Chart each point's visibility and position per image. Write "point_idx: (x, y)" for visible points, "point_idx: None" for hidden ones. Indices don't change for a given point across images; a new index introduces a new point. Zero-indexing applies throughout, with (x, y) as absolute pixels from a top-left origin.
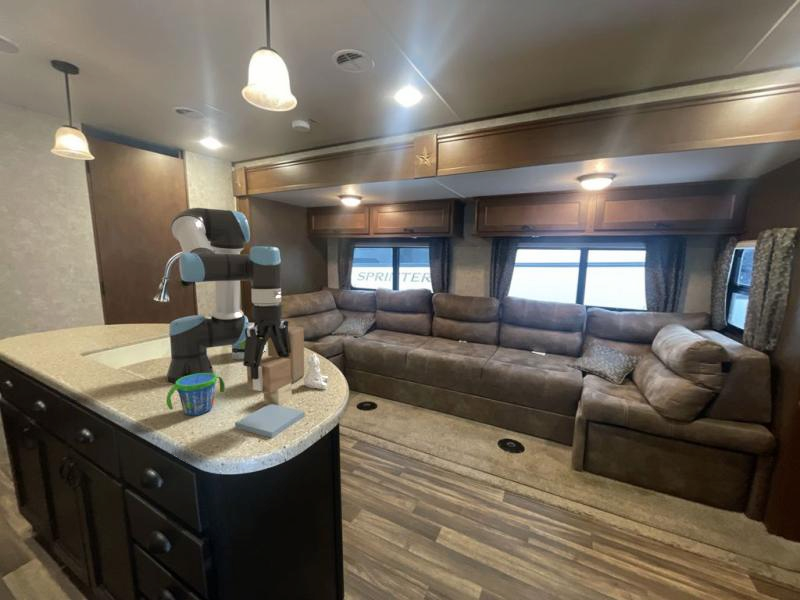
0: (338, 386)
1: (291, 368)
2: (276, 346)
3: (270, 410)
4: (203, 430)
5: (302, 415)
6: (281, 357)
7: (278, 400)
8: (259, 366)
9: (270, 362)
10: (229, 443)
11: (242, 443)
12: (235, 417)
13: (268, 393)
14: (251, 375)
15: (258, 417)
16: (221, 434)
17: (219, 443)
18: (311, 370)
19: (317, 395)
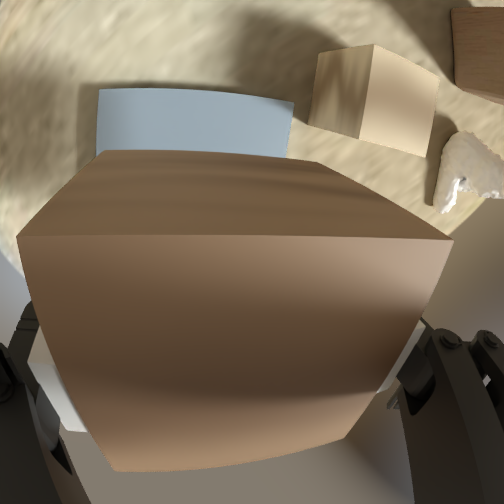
0: (446, 229)
1: (498, 93)
2: (448, 462)
3: (237, 144)
4: (60, 10)
5: None
6: (397, 369)
7: (319, 127)
8: (77, 419)
9: (221, 428)
10: (26, 165)
11: (43, 201)
12: (176, 24)
13: (340, 74)
14: (23, 322)
15: (166, 142)
16: (53, 88)
17: (15, 136)
18: (488, 177)
19: (400, 206)
